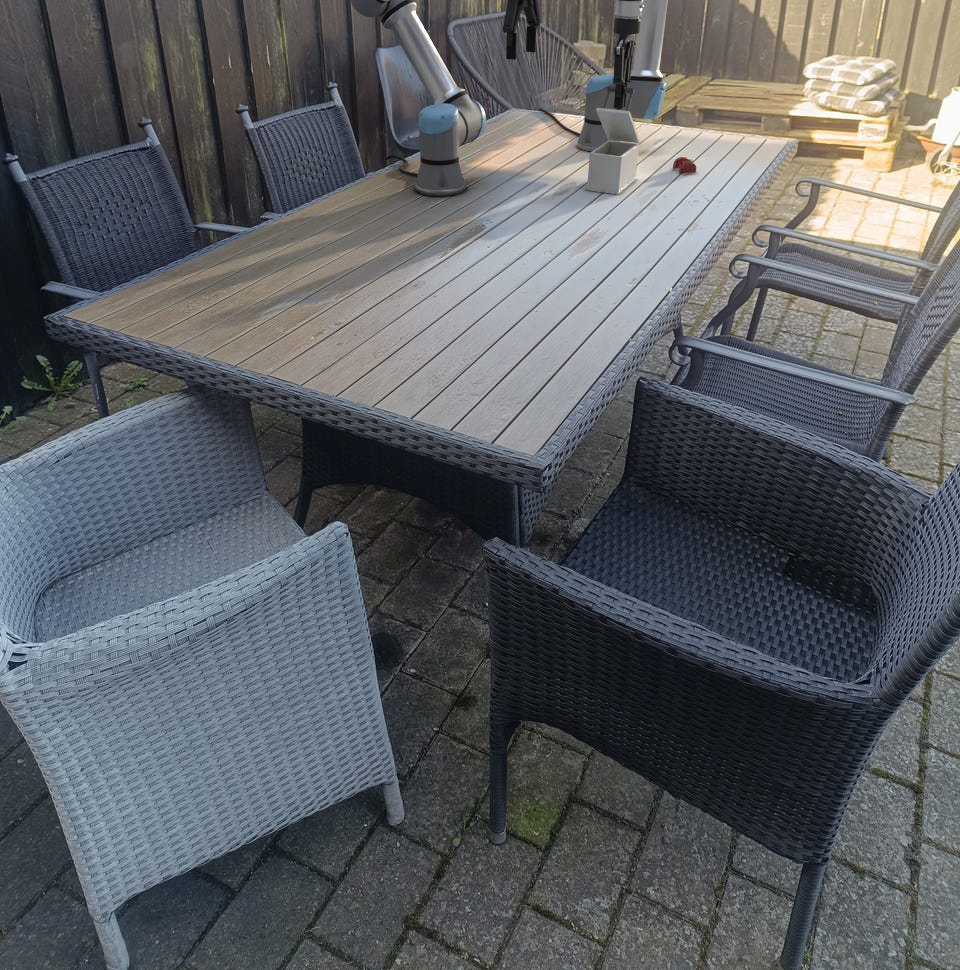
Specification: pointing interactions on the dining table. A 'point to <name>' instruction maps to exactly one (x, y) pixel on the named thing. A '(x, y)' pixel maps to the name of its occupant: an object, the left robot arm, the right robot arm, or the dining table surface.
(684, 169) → the dark red rounded lump
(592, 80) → the right robot arm
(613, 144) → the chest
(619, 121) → the lid
